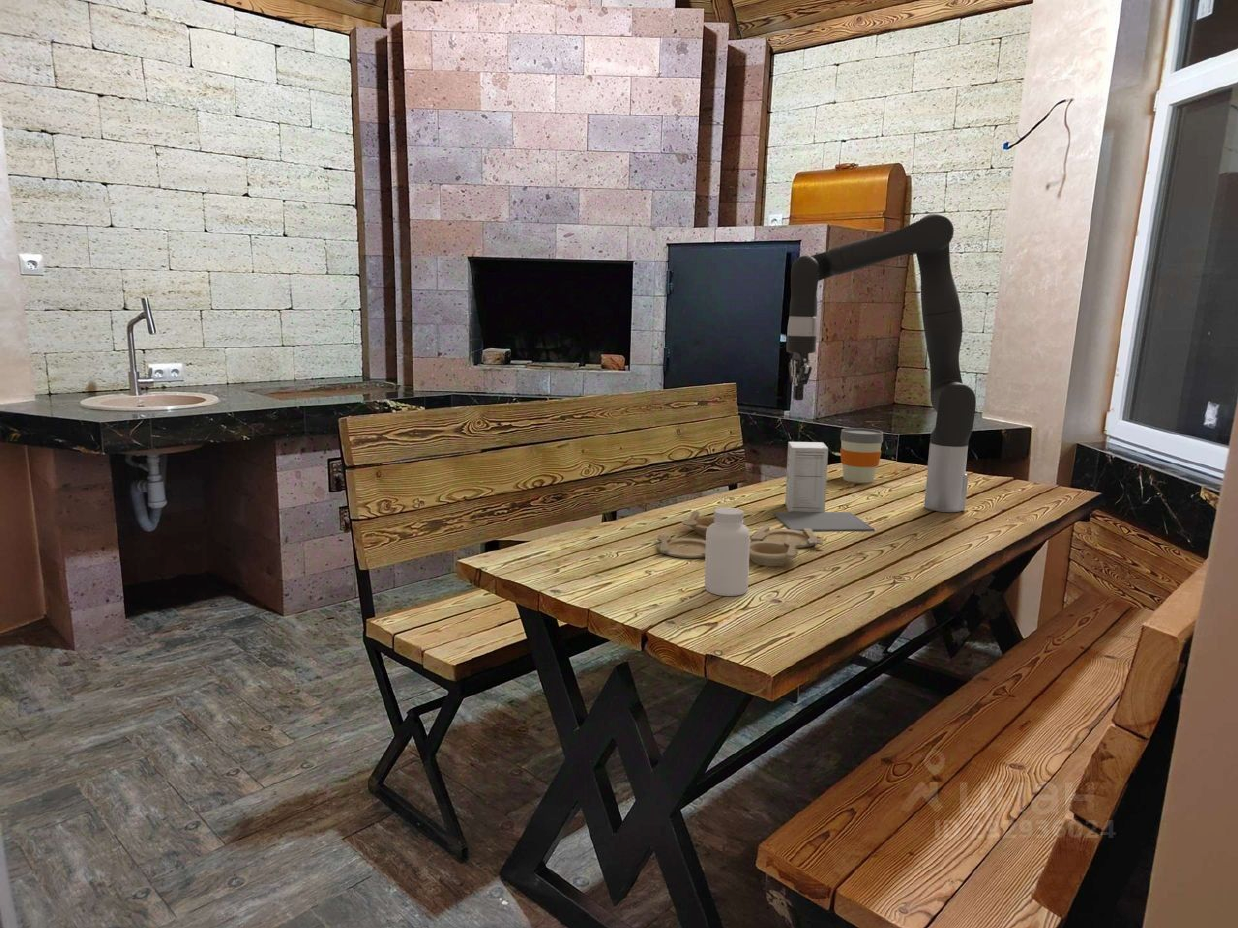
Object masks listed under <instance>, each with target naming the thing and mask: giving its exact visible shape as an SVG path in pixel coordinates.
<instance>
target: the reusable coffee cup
mask: <svg viewBox="0 0 1238 928" xmlns="http://www.w3.org/2000/svg"><path fill="white" fill-rule="evenodd" d="M840 432H841V433H840V437H839V439H840V442H841V444H840V445H841V447H840V448H839V451H840V463H841V464H842V474H843V475H842V477H843V480H844V481H846V482H851V483H859V484H867V483H868V484H870V483H873V482H874V481H875V476H876V472H877V467H878V466H880V465H879V464H880V460H881V456H882V450H881V448H882V443H883V442H884V432H883V431H881V430H879V429H878V430H877V429H874V428H873V429H870V428H861V427H860V428H857V427H850V428H849V427H848V428H843V429H841V431H840Z"/></svg>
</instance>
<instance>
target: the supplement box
mask: <svg viewBox="0 0 1238 928" xmlns="http://www.w3.org/2000/svg"><path fill="white" fill-rule="evenodd" d="M828 458H829V447H828V446H827V445H826V444H825V443H824V442H819V441H817V442H816V441H811V442H810V441H788V443H787V458H786V459H787V461H786V462H787V463H786V481H785V500H784V501H785V502H784V504H785V507H786V509H787V512H826V497H827V496H826V493H827V475H828V461H829V460H828Z"/></svg>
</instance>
